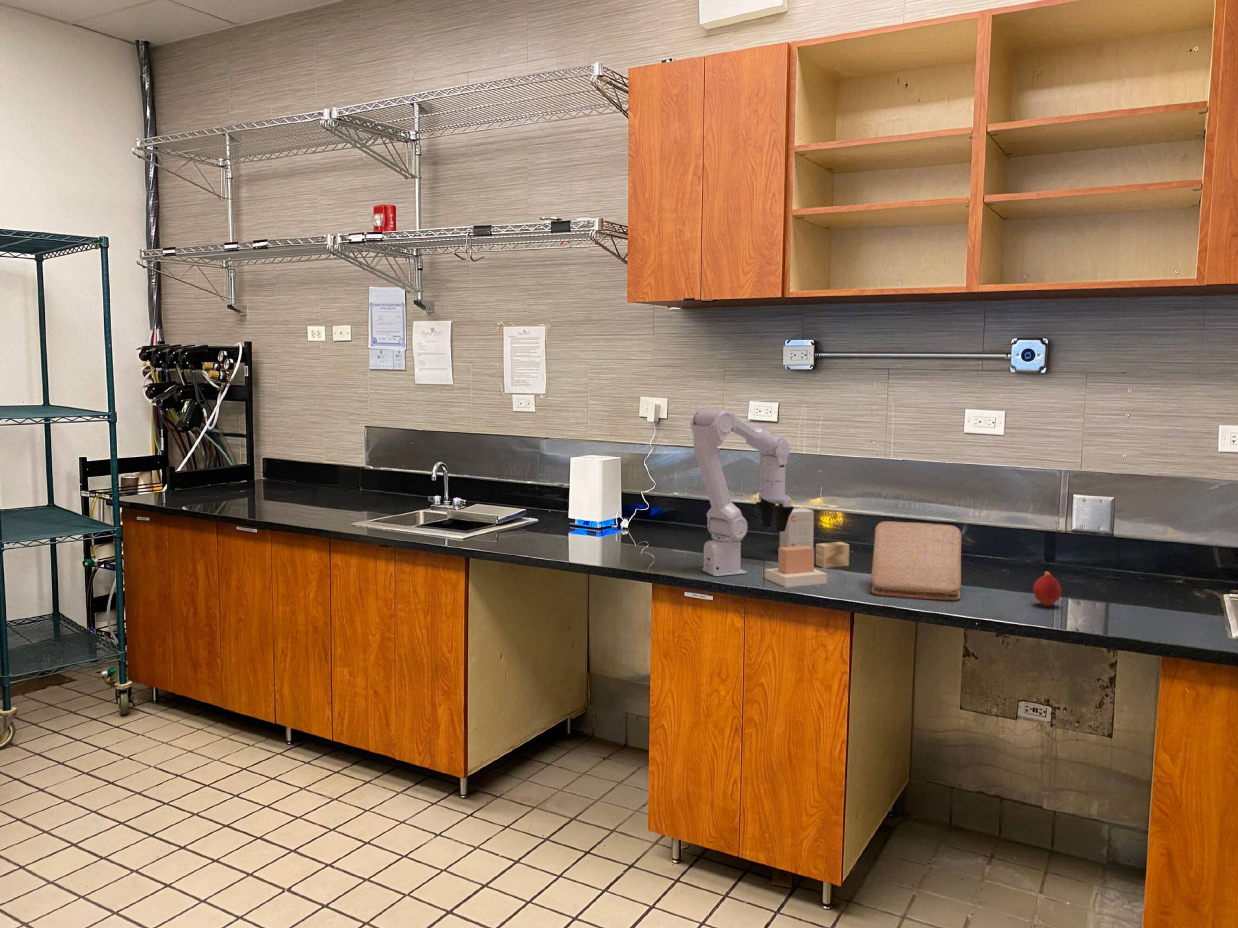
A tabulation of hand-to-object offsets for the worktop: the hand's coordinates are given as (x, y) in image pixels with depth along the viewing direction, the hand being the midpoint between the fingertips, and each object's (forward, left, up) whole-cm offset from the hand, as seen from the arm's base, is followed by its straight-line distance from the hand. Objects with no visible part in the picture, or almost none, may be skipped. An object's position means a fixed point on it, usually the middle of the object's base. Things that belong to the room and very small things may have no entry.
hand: (774, 528), depth 249 cm
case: (+17, -39, -10) cm, 44 cm away
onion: (+34, -63, -10) cm, 72 cm away
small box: (+12, +8, -10) cm, 18 cm away
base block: (-6, -21, -10) cm, 24 cm away
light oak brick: (+13, -9, -10) cm, 19 cm away
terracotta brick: (-5, -21, -7) cm, 22 cm away
